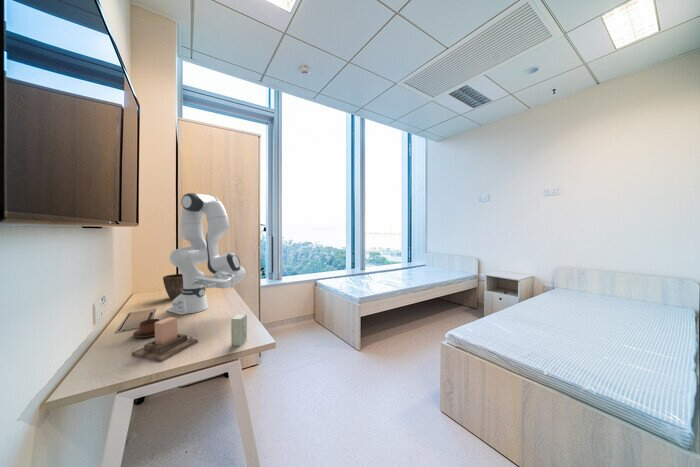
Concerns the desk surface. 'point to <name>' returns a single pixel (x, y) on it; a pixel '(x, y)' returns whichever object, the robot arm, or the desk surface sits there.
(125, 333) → the desk surface
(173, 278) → the plant pot
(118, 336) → the desk surface
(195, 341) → the keyed holder
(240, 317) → the skincare box
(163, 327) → the keyed block
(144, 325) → the cup and saucer
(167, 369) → the desk surface
